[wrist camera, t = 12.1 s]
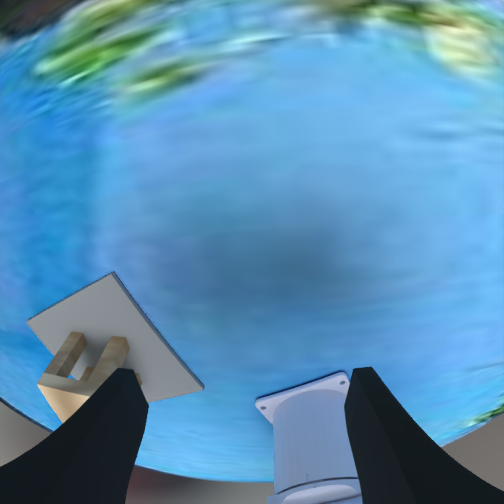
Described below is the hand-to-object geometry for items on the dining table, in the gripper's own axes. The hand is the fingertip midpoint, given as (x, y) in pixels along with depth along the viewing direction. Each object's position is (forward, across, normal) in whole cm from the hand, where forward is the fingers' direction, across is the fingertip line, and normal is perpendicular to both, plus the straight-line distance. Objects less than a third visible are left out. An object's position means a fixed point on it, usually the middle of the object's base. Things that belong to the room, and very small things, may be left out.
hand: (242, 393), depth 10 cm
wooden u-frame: (+10, +12, +9) cm, 18 cm away
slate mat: (+10, +12, +9) cm, 18 cm away
